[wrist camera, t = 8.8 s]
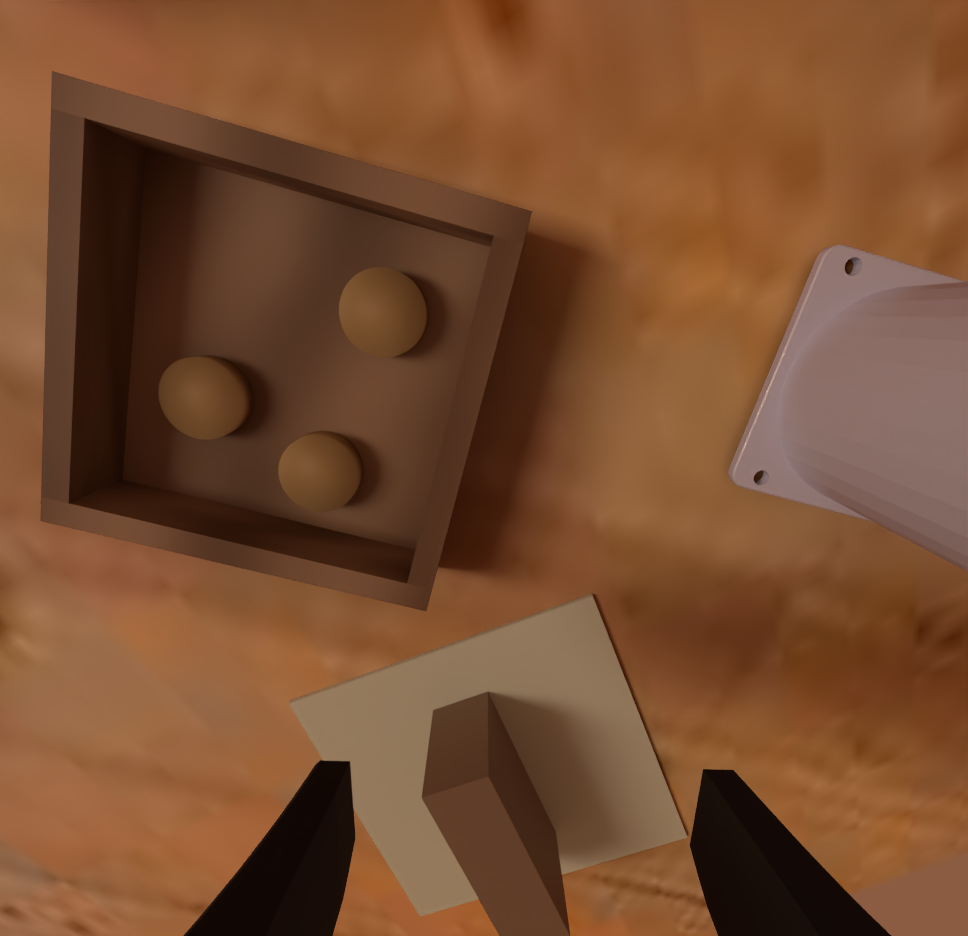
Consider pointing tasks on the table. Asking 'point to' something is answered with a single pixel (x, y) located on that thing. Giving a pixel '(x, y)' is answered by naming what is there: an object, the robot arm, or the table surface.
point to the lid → (499, 766)
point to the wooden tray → (261, 345)
